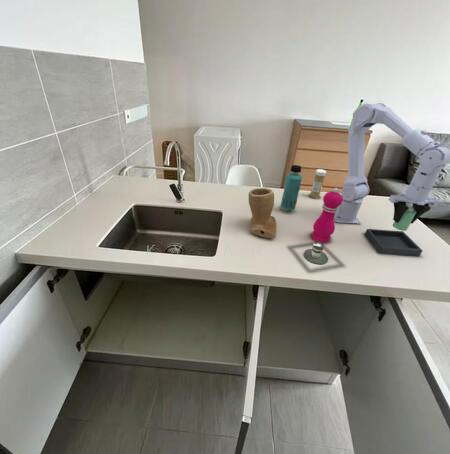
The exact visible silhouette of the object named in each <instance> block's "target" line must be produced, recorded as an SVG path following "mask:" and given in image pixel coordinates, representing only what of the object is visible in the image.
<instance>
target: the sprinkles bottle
mask: <svg viewBox="0 0 450 454" xmlns="http://www.w3.org/2000/svg"><path fill="white" fill-rule="evenodd" d="M326 175H327V170H325V169H322V168H319V169H315V175H314V179H313V182H312V186H311V191H310V194H309V197H310V198H312V199H319V198H320V195H321V192H322V190H323V189H322V188H323V184H324V180H325V177H326Z"/></svg>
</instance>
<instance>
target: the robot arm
mask: <svg viewBox="0 0 450 454" xmlns="http://www.w3.org/2000/svg"><path fill="white" fill-rule="evenodd" d="M376 124H379V125H380V124H381V125H384V126H386V127H387V128H388V129H389V130H390V131H393V133H395V134H396V135H398V136H399V137H400V138H402V145H403V146H404V147H405V148H406V149H407V150H409V152H411V153H412V154H413V155H415V156H416V157H417V158H418V162H419V165H418V167H417V169H416V171H415V173H414V175H413V177H412V179H411V181H410V183H409V185H408V188H407V189H406V191H405V193H403V194H402V193H401V194H390V196H389V198H388V201H389V202H390V203H392V204H393V218H392V221H393V222H394V221H395V222H397V223H398V222H399V221H400V219H401V217H402V215H403V214H404V213H405V212H406V210H407V209H409V207H407V206H408V205H407V204H412V207H413V208H414V210H415V211H416V214H415V216H414V218H413V220H412V221H411V223H410V225H411V224H414V223H415V222H416V221H417V220H418V219H419V218H420V217H421V216H423V215H424V214H426V213H427V212H429V211H431V208H432V207H431V206H430V205H432V206H433V207H434V206H435V207H436V206H437V205H438V203H439V202H440V200H439V199H438V198H436V197H431V196H429V195H430V193H431V191H432V189H433V187H434V185H435V183H436V182H437V180H438V178H439V176H440V175H441V174H440V173H441V172H442V170H443V168H444V165H445V164H447V163H449V162H450V148H449V146H447V145H441V144H442V142H440V141H438V140H437V141H436V140H435V139H433V138H432V137H431V136H429V135H428V133H429V131H427V130H426V129H423V130H422V129H420V128H419V129H417V128H416V129H413V128H412V127H411V126H410V125H408V124H407V123H406V122H405V121H404V120H403V119H402V118H401V117H400V116H398V114H396V112H394V110H392V108H391V107H389V106H386V105H385V103H382V102H379V103H367V102H365V103H363V104H361V105H359V106H358V107H357V108H356V109H355V110H354V111H353V112H352V119H351V122H350V125H349V126H348V131H347V177H346V179H345V180H344V181H343V186H342V189H341V191H340V194H341V195H342V198H343V201H342V204H341V205H340V206H338V211H337V212H335V215H334V223H343V224H354V225H355V224H357V225H359V224H360V222H359V220H358V219H357V216H358V214H359V211H360V209H361V206H362V204H363V202H364V201H363V200H364V198H366V197H367V196H368V195H369V193H370V186H369V184H368V178H367V177H366V176H365V146H366V145H365V141H366V139H365V138H366V133H367V132H368V131H369V130H370V129H371V128H372V127H373V126H375V125H376Z"/></svg>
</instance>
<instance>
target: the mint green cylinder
mask: <svg viewBox="0 0 450 454" xmlns="http://www.w3.org/2000/svg"><path fill="white" fill-rule="evenodd" d="M406 206H407V207H409V209H407V210H406V212H405V213H404V214H403V215H402V217H401V219H400V221H399V222H398V223H397V222H395V221H394V220H393V223H392V227H393V228H394V229H395V230H397V231H403V232H405V231H408V230H409V227H410V226H411V221H412V220H413V218H414V216H415V214H416V211H415V210H414V208H413V206H411V205H406Z"/></svg>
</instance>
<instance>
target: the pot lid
mask: <svg viewBox="0 0 450 454" xmlns="http://www.w3.org/2000/svg"><path fill="white" fill-rule="evenodd" d="M324 246H325V245H324V243H321V242H318V241H314V242H313V243H312V247H311V248H308V249H306V250H304V251H303V256H304V258H305V259H306V261H308V262H310V263H312V264H314V265H325V264H326V263H328V261H329V257H328V255H327V254H326V253H325V252H323V250H324Z"/></svg>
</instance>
